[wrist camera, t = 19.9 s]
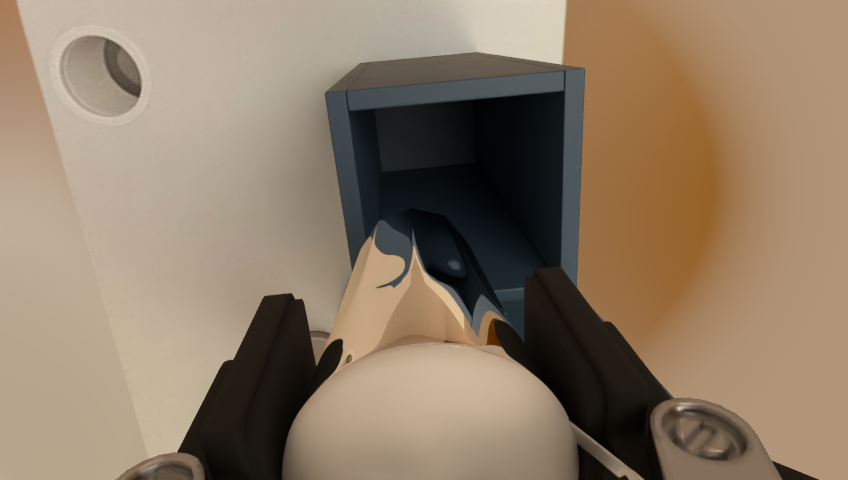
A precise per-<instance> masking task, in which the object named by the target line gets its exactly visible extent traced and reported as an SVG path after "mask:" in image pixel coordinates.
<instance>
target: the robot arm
mask: <svg viewBox="0 0 848 480" xmlns="http://www.w3.org/2000/svg"><path fill="white" fill-rule="evenodd" d="M524 344H525V346H526V347H527V349H528V351H529V352H530V354H531V356H532V357H533V359H534V360H535V362H536V364H537V365H538V367H539V369H540V370H541V372H542V374H543V375H544V377H545V378H546V380H547V382H548V383H549V385H550V387H551V388H552V390H553V392H554V393H555V395H556V397H557V398H558V400H559V402H560V403H561V405H562V406H563V408H564V410H565V412H566V414H567V416H568V418H569V420H571V421H572V422H573V423H574V424H576V425H577V426H578V427H579V428H581V429H582V430H583V431H585V432H586V433H587V434H588V435H590V436H591V437H592V438H593V439H595V440H596V441H597V442H599V443H600V444H601V445H602V446H604V447H605V448H606V449H607V450H609V451H610V452H611V453H612V454H614V455H615V456H616V457H618V458H619V459H620V460H621V461H623V462H624V463H625V464H626V465H628V466H629V467H630V468H632V469H633V470H634V471H635V472H637V473H638V474H639V475H640V476H642V477H643V478H644V479H646V480H818V479H816V478H813V477H811V476H808V475H806V474H803V473H801V472H798V471H796V470H793V469H791V468H788V467H786V466H784V465H781V464H779V463H776V462H774V461H771V459H770V457H769V455H768V453H767V452H766V450H765V448H764V446H763V445H762V443H761V441H760V439H759V438H758V436H757V434H756V433H755V432H754V430H753V429H752V428H751V427H750V425H749V424H748V423H747V422H746V421H744V420H743V419H742V418H741V417H739V416H738V415H737V414H735V413H734V412H731V411H730V410H728V409H726V408H724V407H722V406H720V405H717V404H714V403H711V402H708V401H705V400H700V399H693V398H674V399H671V398H670V396H669V395H668V394H667V393H666V391H665V390H664V389H663V387H662V386H661V385H660V384H659V382H658V381H657V380H656V378H655V377H654V376H653V375H652V373H651V372H650V371H649V369H648V368H647V367H646V366H645V364H644V363H643V362H642V360H641V359H640V358H639V357H638V355H637V354H636V353H635V351H634V350H633V349H632V348H631V346H630V345H629V344H628V342H627V341H626V340H625V339H624V337H623V336H622V335H621V333H620V332H619V331H618V330H617V328H616V327H615V326H614V325H613V324H612V323H611V322H608V321H606V322H602V321H601V320H600V319H599V317H598V316H597V315H596V313H595V312H594V310H593V309H592V308H591V307H590V305H589V304H588V303H587V301H586V300H585V298H584V297H583V296H582V294H581V293H580V292H579V290H578V289H577V288H576V286H575V285H574V284H573V282H572V281H571V280H570V278H569V277H568V276H567V274H566V273H565V271H564V270H563V269H562V268H561V267H551V268H541V269H534V271H533V274H532V276H527V277H525V280H524ZM315 369H316V361H315V356H314V351H313V346H312V341H311V336H310V331H309V326H308V321H307V315H306V310H305V305H304V302H303V300H302V299H296V300H295V298H294V296H293V294H292V293H290V294H279V295H269V296H264V298H263V299H262V301H261V304H260V306H259V308H258V310H257V312H256V314H255V316H254V318H253V320H252V322H251V324H250V326H249V329H248V331H247V333H246V335H245V337H244V339H243V341H242V343H241V345H240V347H239V349H238V351H237V354H236V356H235V358H234V360H228V361H225V362H224V363H223V364H222V366H221V367H220V369H219V371H218V373H217V375H216V377H215V379H214V381H213V383H212V385H211V387H210V389H209V391H208V393H207V395H206V397H205V399H204V401H203V403H202V405H201V407H200V409H199V411H198V413H197V414H196V416H195V418H194V420H193V422H192V424H191V426H190V428H189V430H188V432H187V434H186V436H185V438H184V440H183V442H182V444H181V446H180V448H179V450H178V452H177V453H175V452H174V453H169V454H163V455H158V456H156V457H153V458H150V459H148V460H145V461H143V462H141V463H139V464H137V465H136V466H134V467H132V468H130V469H129V470H127V471H126V472H125V473H123V474H122V475H121V476H120V477H118V478H117V479H116V480H282V464H283V456H284V450H285V445H286V441H287V437H288V434H289V431H290V428H291V426H292V424H293V421H294V420H295V417H296V415H297V412H298V410H299V407H300V405H301V403H302V400H303V398H304V395H305V393H306V391H307V388H308V386H309V383H310V381H311V379H312V376H313V374H314V371H315ZM577 447H578V456H579V478H578V480H628V478H627V477H626V475H624V476H621V477H617V476H615V475H614V474H613V473H612V472H611V471H609V470H608V469H607V468H606V467H605V466H603V465H602V464H601V463H600V462H599V461H597V460H596V459H595V458H594V457H593V456H591V455H590V453H588V452H587V451H585V450H584V449H583V448H582V447H581V446H579V445H578V444H577Z"/></svg>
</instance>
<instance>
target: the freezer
mask: <svg viewBox="0 0 848 480" xmlns="http://www.w3.org/2000/svg"><path fill="white" fill-rule="evenodd" d="M584 87H585V68H580V67H573V66H566V65H560V64H553V63H546V62H539V61H533V60H526V59H519V58H513V57H506V56H499V55H492V54H486V53H479V52H476V53H465V54H454V55H444V56H433V57H422V58H411V59H400V60H389V61H378V62H367V63H360V64H359V65H358V66H356V67H355V68H354V69H353V70H352V71H350V72H349V73H348V74H347V75H346V76H344V77H343V78H342V79H341V80H340V81H339V82H337V83H336V84H335V85H334V86H333V87H331V88H330V89H329V90H328V91H327V92H325V98H326V105H327V111H328V118H329V124H330V131H331V137H332V144H333V150H334V157H335V163H336V170H337V176H338V183H339V189H340V196H341V202H342V209H343V215H344V221H345V228H346V234H347V241H348V247H349V254H350V260H351V267H352V272H353V269H354V266H355V263H356V261H357V258H358V255H359V252H360V250H361V248H362V246H363V245H364V243H365V241H366V240H367V238H368V237H369V235H370V234H371V232H372V231H373V229H374V227H375V226H376V224H377V223H378V221H379V220H381V219H384V218H386V217H389V216H391V215H394V214H396V213H399V212H402V211H404V210H407V209H409V208H415V209H419V210H423V211H427V212H432V213H436V214H441V215H445V216H446V217H447V219H448V220H449V221H450V222H451V223H452V224H453V226H454V227H455V228H456V229H457V230H458V231H459V232H460V234H461V235H462V236H463V237H464V238H465V239H466V241H467V242H468V244H469V246H470V248H471V249H472V251H473V253H474V255H475V257H476V259H477V260H478V262H479V264H480V266H481V268H482V270H483V271H484V273H485V275H486V277H487V279H488V281H489V283H490V284H491V286H492V288H493V290H494V292H495V294H496V295H497V297H498V299H499V301H500V303H507V302H517V301H524V280H525V277H527V276H532V274H533V271H534V269H541V268H551V267H561V268H562V269H563V270H564V271H565V273H566V274H567V276H568V277H569V278H570V280H571V281H572V282H573V284H574V285H575V286H576V288H577V268H578V241H579V216H580V190H581V164H582V139H583V138H582V137H583V112H584Z"/></svg>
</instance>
